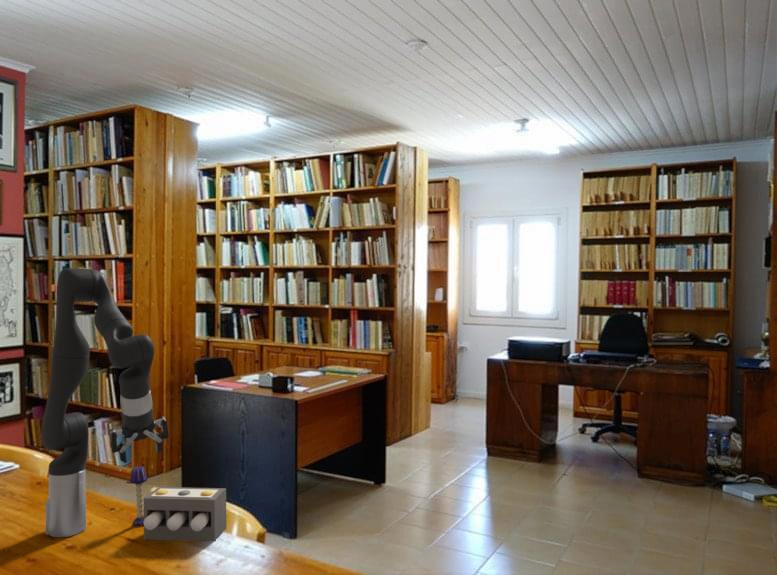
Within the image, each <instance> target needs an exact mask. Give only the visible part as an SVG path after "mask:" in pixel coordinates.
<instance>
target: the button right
mask: <svg viewBox="0 0 777 575" xmlns="http://www.w3.org/2000/svg"><path fill="white" fill-rule="evenodd" d="M209 519H210V512H208V511H203V512H202V513H199V514H198V515H197V516H196V517H195V518H194V519H193V520H192V521H191V528H192V529H193V530H194V531H200V530H202V529H203V528H204V527H205V525H206V524H207V523H208V521H209Z"/></svg>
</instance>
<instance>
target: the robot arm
mask: <svg viewBox="0 0 777 575" xmlns="http://www.w3.org/2000/svg"><path fill="white" fill-rule="evenodd" d="M91 302H93V303H94V304H96V305H97V308H96V310H95V313H94V318H93V320H94V326H95V328H96V329H97V332H99V334H100V336H101V337H102V338H103V341H105V344H106V348H107V353H108V359H109V362H110V364H111V365H112V366H113V367H115V368H117V369H125V370H123V371H122V372H121V373H120V375H119V378H118V382H119V391H120V401H119V402H120V411H121V420H122V427H121V428H119V429H115V428H111V429H110V430H109V440H110V442H109V443H110V446H109V447H110V449H111V452H112V453H113V454H114V453H118V455H119V459H120V461H121V462H122V463H124V464H126V463H128V460H127V459H128V458H127V451H126V450H127V448H128V447H130V446H131V445H132V443H133V442H134V443H135V442H138V441H140V440H147V439H148V438H150V439H151V440H153V441H155V442H154V443H155V451H156V453H157V454H161V451H163V440H167V439H169V437H170V436H169V435H170V434H169V428H168V423H167V420H166V418H165V416H163V415H161V416H160V417H159V419H156V420H155V419H154V409H153V408H154V407H153V404H154V403H153V398H152V393H151V385H150V376H151V375H150V374H151V369H152V364H153V361H154V359H155V358H154V357H155V345H154V342H153V340H152V338H151V337H150V336H149V335H147V334H136V335H134V336H133V334H134V329H133V327H132V326H131V324H130V323H129V321H128V320H127V318H126V317H125V315H124V314H123V313H122V311H120V309H119V308H118V307H119V306H118V305H117V304H116V301H115V299H114V296H113V294H112V292H111V289H110V287H109V285H108V283H107V280H106V278H105V276H104V274H102V272H100V271H99V270H97V269H93V268H77V267H76V268H72V267H67V268H63V269H62V270H61V271H60V272H59V274H58V277H57V282H56V303H55V304H56V312H55V313H56V314H55V315H56V316H55V331H54V339H53V345H52V346H53V347H52V352H51V353H52V354H51V363H50V377H49V386H48V392H47V393H48V394H47V400H46V404H45V409H44V414H43V418H42V422H41V434H40V436H41V443H42V446H44V448H45V449H46V450H48V451H58V450H61V449H63V451H62V453H60V455H58V456H57V457H55V458H54V459H53V460H52V461H50V462H49V464H48V499H46V501H45V535H47V536H50V537H53V538H67V537H72V536H75V535H78V534H81V533H82V532H84V531H85V530H86V529H87V506H86V505H87V501H86V500H87V498H86V497H87V496H86V495H87V493H86V490H87V489H86V488H87V487H86V486H87V485H86V484H87V483H86V473H87V472H86V463H87V460H88V454H89V453H88V452H89V432H90V429H89V423H88V420H87V417H86V415H84V414H83V413H82V412H76V411H75V412H71V413H70V412H69V413H66V411H67V407H68V404H69V401H70V399H72V396H73V394H74V393H75V392H76V391H77V389H78V388H79V386H80V385H81V383H82V382H83V381H84V379H85V377H86V375H87V372H88V370H89V363H90V354H91V348H90V345H89V342H88V341H87V338H86V336H85V335H84V333H83V332H82V330H81V329H80V327H79V325H78V323H77V321H76V317H75V303H91ZM126 368H127V369H126ZM156 426H158V428H161V432H160V433H158V432H157V431H156V430H155V428H156ZM121 435H122V438H121V441H119V443H118V439H119V438H120V436H121Z"/></svg>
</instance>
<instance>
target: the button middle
mask: <svg viewBox="0 0 777 575" xmlns="http://www.w3.org/2000/svg"><path fill="white" fill-rule="evenodd" d="M186 519H187V511H179V512H177V513H175V514H174V515H173V516H172V517H171V518H169V519H168V521H167V526H168V528H169V529H170V530H172V531H175V530H177V529H178V528H179V527H181V526H182V525H183V524H184V522H185V520H186Z"/></svg>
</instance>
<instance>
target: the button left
mask: <svg viewBox="0 0 777 575" xmlns="http://www.w3.org/2000/svg"><path fill="white" fill-rule="evenodd" d="M164 518H165V510H157V511H156V512H153V513H151V514H150V515H149V516H148V517H146V518H145V520H144V526H143V528H144V527H145V528H146V529H148V530H153V529H154V528H155V527H157V526H158V525H159V524H160V523H161V522H162V519H164Z"/></svg>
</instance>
